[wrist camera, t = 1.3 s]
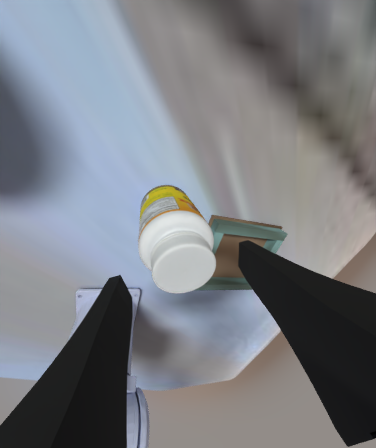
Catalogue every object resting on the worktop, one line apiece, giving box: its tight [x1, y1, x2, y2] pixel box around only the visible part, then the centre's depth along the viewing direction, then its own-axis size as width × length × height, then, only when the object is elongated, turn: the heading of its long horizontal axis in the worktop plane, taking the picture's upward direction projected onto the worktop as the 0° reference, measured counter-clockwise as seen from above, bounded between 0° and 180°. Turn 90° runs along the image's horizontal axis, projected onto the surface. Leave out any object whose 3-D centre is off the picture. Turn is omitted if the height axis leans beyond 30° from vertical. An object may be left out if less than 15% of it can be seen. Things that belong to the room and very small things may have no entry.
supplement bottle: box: [138, 185, 216, 294], centre depth 14 cm, size 6×6×10 cm
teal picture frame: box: [195, 215, 287, 290], centre depth 24 cm, size 12×12×2 cm
